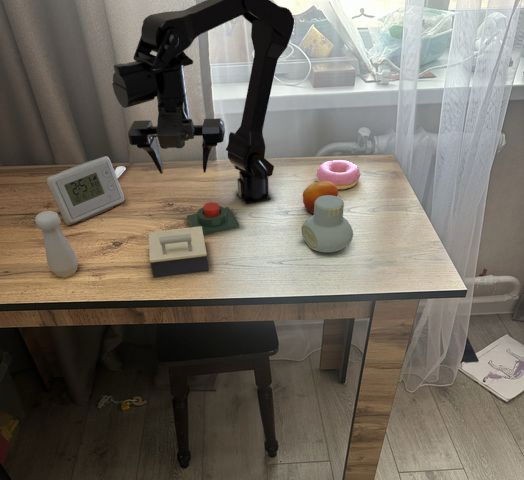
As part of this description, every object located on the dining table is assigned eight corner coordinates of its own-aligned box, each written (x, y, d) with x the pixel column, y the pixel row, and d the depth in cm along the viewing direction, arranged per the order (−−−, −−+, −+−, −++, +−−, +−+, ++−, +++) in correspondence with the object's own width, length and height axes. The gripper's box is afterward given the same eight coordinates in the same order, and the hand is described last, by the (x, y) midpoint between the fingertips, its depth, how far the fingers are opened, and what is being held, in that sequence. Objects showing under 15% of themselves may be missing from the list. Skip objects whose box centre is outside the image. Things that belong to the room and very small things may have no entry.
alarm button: (217, 208, 115) (216, 201, 113) (222, 215, 112) (221, 208, 111) (202, 211, 114) (201, 204, 113) (206, 218, 111) (205, 211, 110)
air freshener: (297, 237, 110) (298, 194, 103) (330, 227, 112) (333, 185, 105) (321, 262, 103) (324, 219, 96) (356, 252, 105) (361, 209, 98)
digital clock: (65, 229, 115) (51, 186, 107) (52, 211, 120) (38, 168, 112) (131, 208, 121) (123, 166, 113) (117, 192, 126) (108, 151, 118)
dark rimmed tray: (208, 271, 102) (206, 254, 99) (153, 278, 100) (150, 261, 98) (204, 244, 109) (202, 228, 106) (152, 250, 108) (149, 234, 105)
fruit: (319, 219, 112) (310, 183, 110) (302, 222, 119) (294, 188, 117) (349, 210, 115) (341, 174, 112) (331, 213, 122) (323, 180, 120)
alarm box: (228, 211, 119) (227, 199, 117) (239, 228, 113) (238, 216, 111) (187, 219, 116) (185, 208, 114) (196, 237, 111) (194, 225, 109)
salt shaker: (55, 264, 105) (33, 207, 96) (82, 262, 105) (64, 205, 96) (49, 281, 101) (26, 223, 91) (78, 279, 101) (58, 221, 92)
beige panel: (206, 255, 98) (204, 237, 96) (150, 262, 97) (146, 244, 94) (201, 228, 106) (199, 210, 103) (149, 234, 105) (145, 216, 102)
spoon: (132, 168, 136) (131, 166, 136) (107, 200, 124) (107, 198, 123) (113, 167, 137) (112, 165, 137) (87, 199, 124) (86, 197, 124)
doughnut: (320, 170, 133) (321, 154, 130) (362, 174, 130) (364, 158, 128) (311, 189, 125) (312, 173, 122) (356, 194, 123) (358, 178, 120)
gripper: (113, 111, 91) (132, 191, 102) (216, 108, 90) (224, 189, 101) (126, 90, 99) (142, 166, 110) (221, 87, 98) (228, 164, 109)
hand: (183, 172), depth 107 cm, fingers open, 9 cm apart
